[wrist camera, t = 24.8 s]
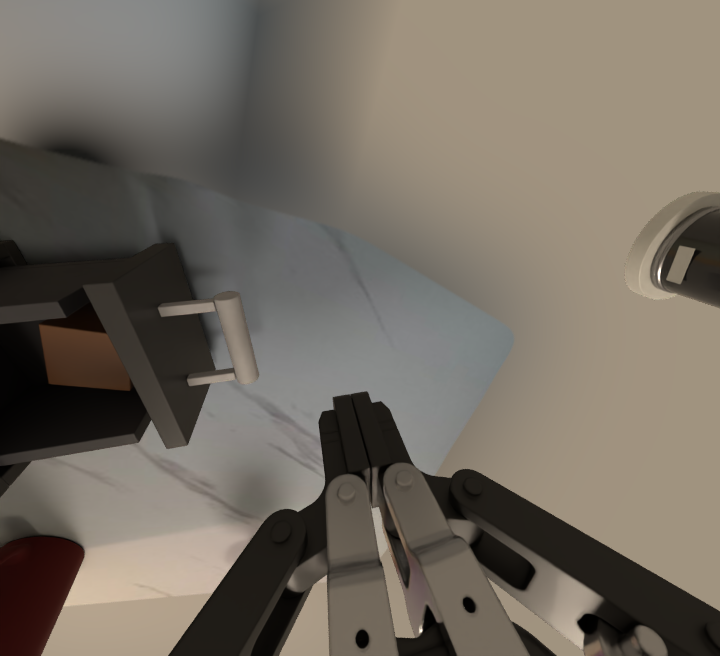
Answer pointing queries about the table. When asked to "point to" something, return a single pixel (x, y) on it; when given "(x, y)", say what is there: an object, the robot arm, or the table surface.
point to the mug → (34, 591)
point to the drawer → (132, 343)
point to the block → (82, 352)
